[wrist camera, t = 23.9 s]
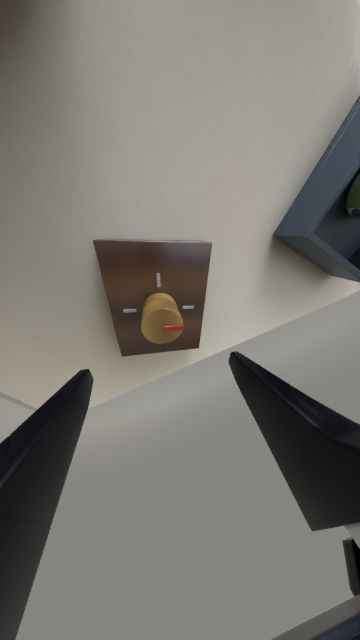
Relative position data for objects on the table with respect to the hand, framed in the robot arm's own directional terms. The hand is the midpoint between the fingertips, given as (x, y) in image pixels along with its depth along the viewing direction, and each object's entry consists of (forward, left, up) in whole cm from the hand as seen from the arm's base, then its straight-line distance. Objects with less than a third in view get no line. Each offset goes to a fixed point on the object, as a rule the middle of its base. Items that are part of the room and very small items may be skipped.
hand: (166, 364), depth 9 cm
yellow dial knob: (+1, 0, -9) cm, 9 cm away
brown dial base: (+1, 0, -12) cm, 12 cm away
